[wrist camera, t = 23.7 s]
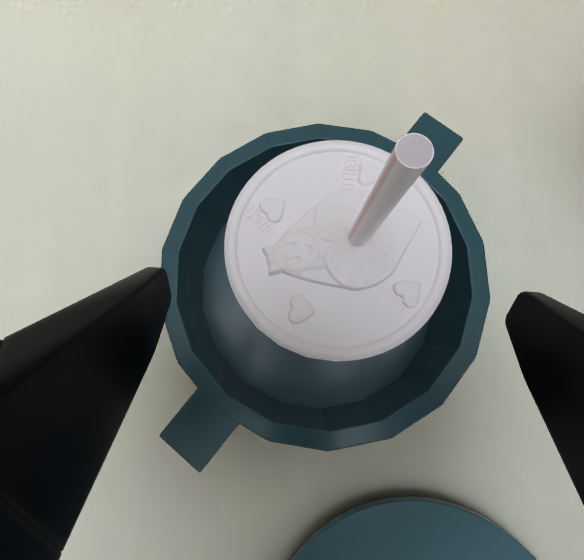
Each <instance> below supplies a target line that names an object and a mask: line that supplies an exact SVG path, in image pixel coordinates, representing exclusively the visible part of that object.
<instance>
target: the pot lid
mask: <svg viewBox="0 0 584 560" xmlns="http://www.w3.org/2000/svg"><path fill="white" fill-rule="evenodd" d="M290 560H536V558H535V557H534V556H533V555H532V554H531V553H530V552H529V551H528V550H526V549H525V548H524V547H523V546H522V545H521V544H520V543H519V542H518V541H517V540H516V539H515V538H514V537H513V536H512V535H510V534H509V533H508V532H506V531H505V530H503V529H502V528H501V527H499V526H498V525H497V524H495V523H494V522H492V521H491V520H489V519H487V518H485V517H483V516H482V515H480V514H478V513H476V512H474V511H472V510H469V509H467V508H464V507H462V506H459V505H457V504H454V503H450V502H446V501H442V500H438V499H434V498H425V497H415V496H409V497H391V498H386V499H380V500H375V501H372V502H369V503H366V504H363V505H360V506H357V507H354V508H352V509H350V510H348V511H346V512H344V513H342V514H340V515H338V516H337V517H335V518H334V519H332V520H331V521H329V522H328V523H327V524H325V525H324V526H322V527H321V528H320V529H319V530H317V531H316V532H315V533H314V534H313V535H312V536H311V537H310V538H309V539H308V540H307V541H306V542H305V543H304V544H303V545H302V546H301V547H300V549H299V550H298V551H297V552H296V553H295V555H294V556H293V557H292V558H291V559H290Z"/></svg>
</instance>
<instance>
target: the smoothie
mask: <svg viewBox="0 0 584 560" xmlns="http://www.w3.org/2000/svg"><path fill="white" fill-rule="evenodd" d="M433 156H434V148H433V145H432V143H431V141H430V140H429V139H428V138H427V137H425V136H424V135H421V134H418V133H409V134H406V135H404V136H402V137H401V138H400V139H399V140H398V141H397V143H396V145H395V147H394V149H393V151H392V153H391V154H390V153H388V152H386V151H384V150H382V149H379V148H376V147H374V146H371V145H367V144H363V143H359V142H353V141H342V140H328V141H319V142H313V143H309V144H305V145H302V146H298V147H296V148H293V149H291V150H288V151H286V152H284V153H282V154H280V155H278V156H277V157H275V158H274V159H272V160H271V161H269V162H268V163H267V164H265V165H264V166H263V167H261V168H260V169H259V170H258V171H257V172H256V173H255V174H254V175H253V176H252V177H251V179H250V180H249V181H248V182H247V183H246V185H245V186H244V188H243V189H242V190H241V192H240V194H239V195H238V197H237V199H236V201H235V203H234V205H233V207H232V210H231V213H230V216H229V219H228V222H227V227H226V232H225V241H224V255H225V265H226V270H227V275H228V278H229V282H230V285H231V287H232V290H233V292H234V295H235V296H236V298H237V300H238V302H239V304H240V306H241V307H242V309H243V310H244V312H245V313H246V314H247V316H248V317H249V318H250V319H251V321H252V322H253V323H254V325H255V326H256V327H257V328H258V329H259V330H260V331H262V332H263V333H264V334H265V335H267V336H268V337H269V338H270V339H272V340H273V341H274V342H275V343H277V344H278V345H279V346H281V347H284V348H286V349H288V350H291V351H293V352H295V353H298V354H300V355H302V356H305V357H307V358H315V359H322V360H329V361H351V360H359V359H364V358H369V357H372V356H375V355H378V354H382V353H384V352H386V351H388V350H391V349H393V348H395V347H396V346H398V345H400V344H402V343H403V342H405V341H406V340H407V339H409V338H410V337H411V336H413V335H414V334H415V333H416V332H417V331H418V330H419V329H420V328H421V327H422V326H423V325H424V324H425V323H426V322H427V321H428V320H429V318H430V317H431V315H432V314H433V313H434V311H435V310H436V308H437V306H438V305H439V303H440V301H441V299H442V297H443V294H444V292H445V289H446V286H447V283H448V280H449V275H450V271H451V263H452V243H451V235H450V230H449V225H448V222H447V219H446V216H445V213H444V211H443V209H442V206H441V204H440V202H439V201H438V199H437V197H436V195H435V194H434V192H433V191H432V189H431V188H430V187H429V185H428V184H427V183H426V182H425V180H424V179H423V178H422V177H421V176H420V175H421V173H422V172H423V171H424V170H425V168H426V167H427V166H428V165H429V163H430V162H431V161H432V159H433Z"/></svg>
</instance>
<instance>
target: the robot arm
mask: <svg viewBox="0 0 584 560" xmlns="http://www.w3.org/2000/svg"><path fill="white" fill-rule="evenodd" d="M170 303H171V290H170V285H169V281H168V276H167V272H166V270H165V269H163V268H156V267H147V268H145V269H143V270H141V271H139V272H137V273H135V274H133V275H131V276H129V277H127V278H125V279H123V280H121V281H119V282H117V283H115V284H113V285H111V286H109V287H107V288H104V289H102V290H100V291H98V292H96V293H94V294H92V295H90V296H88V297H86V298H84V299H82V300H80V301H78V302H76V303H74V304H72V305H70V306H68V307H66V308H64V309H62V310H60V311H58V312H56V313H54V314H52V315H50V316H48V317H46V318H44V319H42V320H40V321H37V322H35V323H33V324H31V325H29V326H27V327H25V328H23V329H21V330H19V331H17V332H15V333H13V334H11V335H9V336H7V337H5V338H4V340H0V560H59V558H60V556H61V552H60V551H62V550H63V549H64V547H65V545H66V543H67V540H68V538H69V536H70V534H71V532H72V530H73V527H74V525H75V523H76V521H77V519H78V517H79V514H80V512H81V510H82V508H83V506H84V504H85V501H86V499H87V497H88V495H89V493H90V491H91V489H92V486H93V484H94V482H95V480H96V478H97V476H98V473H99V471H100V469H101V467H102V465H103V463H104V460H105V458H106V456H107V454H108V452H109V450H110V447H111V445H112V443H113V441H114V439H115V437H116V434H117V432H118V430H119V428H120V426H121V424H122V422H123V419H124V417H125V415H126V413H127V411H128V409H129V406H130V404H131V402H132V400H133V398H134V396H135V393H136V391H137V389H138V387H139V385H140V383H141V380H142V378H143V376H144V374H145V372H146V370H147V368H148V365H149V363H150V361H151V359H152V356H153V354H154V352H155V349H156V346H157V343H158V340H159V337H160V334H161V331H162V328H163V325H164V322H165V319H166V316H167V313H168V309H169V306H170ZM505 322H506V327H507V330H508V333H509V336H510V339H511V342H512V345H513V348H514V351H515V354H516V356H517V359H518V362H519V365H520V368H521V371H522V373H523V376H524V379H525V381H526V383H527V386H528V388H529V390H530V392H531V394H532V396H533V398H534V401H535V403H536V405H537V407H538V409H539V411H540V413H541V415H542V418H543V420H544V422H545V424H546V426H547V428H548V430H549V432H550V435H551V437H552V439H553V441H554V443H555V445H556V447H557V449H558V452H559V454H560V456H561V458H562V460H563V462H564V464H565V466H566V469H567V471H568V473H569V475H570V477H571V479H572V481H573V483H574V486H575V488H576V490H577V492H578V494H579V496H580V498H581V500H582V503H583V505H584V314H582V313H580V312H578V311H576V310H574V309H572V308H570V307H568V306H566V305H564V304H562V303H560V302H558V301H556V300H554V299H552V298H550V297H548V296H546V295H544V294H542V293H539V292H521V293H520V294H519V295H518V296H517V298H516V300H515V301H514V303H513V305H512V307H511V308H510V310H509V312H508V314H507V316H506V321H505Z"/></svg>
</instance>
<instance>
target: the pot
mask: <svg viewBox="0 0 584 560" xmlns="http://www.w3.org/2000/svg"><path fill="white" fill-rule="evenodd" d="M409 133H418V134H421V135H424V136H425V137H427V138H428V139H429V140H430V141H431V143H432V145H433V148H434V156H433V159H432V161H431V162H430V163H429V165H428V166H427V167H426V168H425V170H424V171H423V172H422V173H421V175H420V176H421V177H422V178H423V179H424V180H425V182H426V183H427V184H428V185H429V187H430V188H431V189H432V191H433V192H434V194H435V195H436V197H437V199H438V201H439V202H440V204H441V206H442V209H443V211H444V213H445V216H446V219H447V222H448V225H449V230H450V235H451V243H452V263H451V271H450V275H449V280H448V283H447V286H446V289H445V292H444V294H443V297H442V299H441V301H440V303H439V305H438V306H437V308H436V310H435V311H434V313H433V314H432V315H431V317H430V318H429V320H428V321H427V322H426V323H425V324H424V325H423V326H422V327H421V328H420V329H419V330H418V331H417V332H416V333H415V334H414V335H413V336H411V337H410V338H409V339H407V340H406V341H405V342H403V343H402V344H400V345H398V346H396V347H395V348H393V349H391V350H388V351H386V352H384V353H382V354H378V355H375V356H372V357H369V358H364V359H359V360H351V361H329V360H322V359H315V358H307V357H305V356H302V355H300V354H298V353H295V352H293V351H291V350H288V349H286V348H284V347H281V346H279V345H278V344H277V343H275V342H274V341H273V340H272V339H270V338H269V337H268V336H267V335H265V334H264V333H263V332H262V331H260V330H259V329H258V328H257V327H256V326H255V325H254V323H253V322H252V321H251V319H250V318H249V317H248V316H247V314H246V313H245V312H244V310H243V309H242V307H241V306H240V304H239V302H238V300H237V298H236V296H235V295H234V292H233V290H232V287H231V285H230V282H229V278H228V275H227V270H226V265H225V255H224V241H225V232H226V227H227V222H228V219H229V216H230V213H231V210H232V207H233V205H234V203H235V201H236V199H237V197H238V195H239V194H240V192H241V190H242V189H243V188H244V186H245V185H246V183H247V182H248V181H249V180H250V179H251V177H252V176H253V175H254V174H255V173H256V172H257V171H258V170H259V169H260V168H261V167H263V166H264V165H265V164H267V163H268V162H269V161H271V160H272V159H274V158H275V157H277V156H278V155H280V154H282V153H284V152H286V151H288V150H291V149H293V148H296V147H298V146H302V145H305V144H309V143H313V142H319V141H328V140H342V141H353V142H359V143H363V144H367V145H371V146H374V147H376V148H379V149H382V150H384V151H386V152H388V153H390V154H391V153H392V151H393V149H394V147H395V145H396V143H395V142H393V141H391V140H389V139H387V138H385V137H383V136H381V135H379V134H377V133H375V132H373V131H369V130H361V129H354V128H347V127H339V126H332V125H325V124H313V125H308V126H302V127H297V128H292V129H286V130H281V131H275V132H270V133H266V134H263V135H262V136H260V137H258V138H256V139H254V140H253V141H251V142H249V143H247V144H245V145H244V146H242V147H240V148H238V149H236V150H235V151H233V152H231V153H229V154H227V155H225V156H224V157H222V158H220V160H218V161H217V162H216V163H215V165H214V166H213V167H212V168H211V169H210V170H209V171H208V172H207V173H206V174H205V176H204V177H203V178H202V179H201V180H200V181H199V182H198V183H197V184H196V186H195V187H194V188H193V189H192V190H191V191H190V192H189V193H188V194H187V195H186V197H185V198H184V199H183V201H182V203H181V205H180V208H179V210H178V212H177V215H176V217H175V220H174V222H173V224H172V227H171V229H170V232H169V234H168V236H167V239H166V241H165V244H164V246H163V250H162V264H161V268H163V269H165V270H166V272H167V276H168V281H169V285H170V290H171V303H170V306H169V309H168V313H167V316H166V319H165V324H166V328H167V331H168V334H169V337H170V340H171V343H172V346H173V350H174V353H175V356H176V359H177V361H178V364H179V365H180V366H181V367H182V369H183V370H184V371H185V372H186V374H187V375H188V376H189V378H190V379H191V380H192V381H193V383H194V384H195V385H196V386H197V390H196V391H195V392H194V393H193V395H192V396H191V397H190V398H189V399H188V401H187V402H186V403H185V404H184V406H183V407H182V408H181V409H180V410H179V412H178V413H177V414H176V415H175V416H174V418H173V419H172V420H171V421H170V423H169V424H168V425H167V426H166V427H165V429H164V430H163V431H162V432H161V434H160V437H161V438H162V439H163V440H164V441H165V442H166V443H167V444H169V445H170V446H171V447H172V448H173V449H174V450H175V451H176V452H177V453H178V454H179V455H181V456H182V457H183V458H184V459H185V460H186V461H187V462H188V463H189V464H190V465H191V466H193V467H194V468H195V469H196V470H197V471H198V472H201V471H202V470H203V469H204V467H205V466H206V465H207V463H208V462H209V461H210V460H211V458H212V457H213V456H214V455H215V453H216V452H217V451H218V450H219V448H220V447H221V446H222V444H223V443H224V442H225V441H226V439H227V438H228V437H229V436H230V434H231V433H232V432H233V431H234V429H235V428H236V427H237V425H238V424H241V425H242V426H244V427H246V428H247V429H249V430H251V431H252V432H254V433H256V434H257V435H259V436H261V437H262V438H264V439H266V440H268V441H271V442H277V443H282V444H288V445H294V446H300V447H306V448H312V449H317V450H323V451H329V450H330V451H333V450H338V449H343V448H347V447H352V446H357V445H362V444H367V443H372V442H377V441H381V440H386V439H389V438H393V437H394V436H396V435H397V434H399V433H400V432H402V431H403V430H405V429H406V428H408V427H409V426H411V425H412V424H414V423H415V422H417V421H419V420H420V419H422V418H423V417H425V416H426V415H428V414H429V413H431V412H432V411H434V410H435V409H437V408H438V407H440V406H441V405H442V404H443V403H444V401H445V400H446V399H447V397H448V396H449V394H450V393H451V392H452V390H453V389H454V387H455V386H456V384H457V383H458V382H459V380H460V379H461V377H462V376H463V374H464V373H465V372H466V370H467V369H468V367H469V366H470V365H471V363H472V362H473V360H474V359H475V357H476V355H477V351H478V347H479V343H480V339H481V335H482V331H483V326H484V322H485V318H486V314H487V310H488V306H489V302H490V300H489V299H490V293H489V285H488V276H487V268H486V259H485V251H484V244H483V240H482V238H481V236H480V234H479V232H478V230H477V228H476V226H475V224H474V222H473V220H472V218H471V216H470V214H469V212H468V210H467V208H466V206H465V204H464V202H463V200H462V198H461V196H460V194H459V193H458V192H457V191H456V190H455V189H454V188H453V187H452V186H451V185H450V184H449V183H448V182H447V181H446V180H445V179H444V178H443V177H442V176H441V175H440V174H439V173H438V171H439V169H440V168H441V167H442V166H443V164H444V163H445V162H446V161H447V159H448V158H449V157H450V156H451V154H452V153H453V152H454V150H455V149H456V148H457V147H458V145H459V144H460V143H461V142H462V140H463V138H462V137H461V136H459V135H458V134H456V133H455V132H453V131H452V130H450V129H449V128H447V127H446V126H444V125H443V124H442V123H440V122H439V121H437V120H436V119H434V118H433V117H431V116H430V115H428V114H427V113H423V114H422V116H421V117H420V118H419V119H418V121H417V122H416V123H415V124H414V125H413V127H412V128H411V129H410V130H409V131H408V133H407V134H409Z"/></svg>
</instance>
